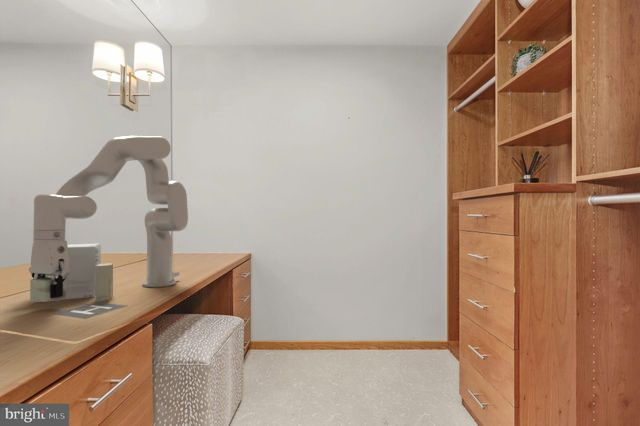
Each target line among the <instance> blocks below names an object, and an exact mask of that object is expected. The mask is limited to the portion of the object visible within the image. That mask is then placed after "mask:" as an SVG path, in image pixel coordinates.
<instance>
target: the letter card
mask: <svg viewBox="0 0 640 426" xmlns="http://www.w3.org/2000/svg"><path fill="white" fill-rule="evenodd" d="M125 307H127V304H117V303H107V302H101V301H98V302H96V301H95V302H93V303H88V304H85V305H80V306H77V307H73V308H69V309H65V310H62V311H58V312H54V313H52V315H55V316H64V317H72V318H76V319H77V318H78V319H84V320H87V319H89V318H92V317H95V316H99V315H104V314H105V313H109V312H113V311H115V310H118V309H122V308H123V309H124V308H125Z"/></svg>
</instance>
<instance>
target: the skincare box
mask: <svg viewBox="0 0 640 426" xmlns="http://www.w3.org/2000/svg"><path fill="white" fill-rule="evenodd" d="M113 298H114V263H110V262H109V263H101V264H98V265H97V266H96V296H95V302H109V301H111V300H112V299H113Z"/></svg>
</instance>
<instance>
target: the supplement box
mask: <svg viewBox="0 0 640 426" xmlns="http://www.w3.org/2000/svg"><path fill="white" fill-rule="evenodd" d="M67 245H68V252H69V271H70V273H69V275H68V276H67V277H66V297H65V298H60V299H56V300H51V301H47V302H46V303H48V302H58V301H61V300H71V299H72V300H73V299H74V300H75V299H83V298H84V299H85V298H86V299H87V298H96V266H97V265H98V264H102V262H101V261H102V256H101V255H102V254H101V247H102V246H101V243H99V242H98V243H78V244H77V243H75V244H74V243H71V244H67ZM56 273H57V272H56ZM41 276H42V275H41ZM58 276H59V275H58ZM58 276H56V277H58ZM46 277H50V275H47V276H46ZM32 303H33V304H37V303H42V302H41V301H33V300H32Z"/></svg>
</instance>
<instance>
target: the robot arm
mask: <svg viewBox="0 0 640 426" xmlns="http://www.w3.org/2000/svg"><path fill="white" fill-rule="evenodd" d="M171 150H172V149H171V144H170V142H169V141H168V140H167V138H165V137H163V136H159V135H158V136H153V135H152V136H148V135H147V136H142V135H141V136H140V135H139V136H137V135H135V136H134V135H129V136H118V137H113V138H110V139H109V140H108V141H107V142H106V143H105V144H104V146H103V147H102V148H101V149H100V151H99V152H98V153H97V155H95V157H94V159H93V160H92V161H91V162H90V163H89V164H88V166H87V167H85V168H84V169H82V170H81V171H79V172H78V173H77V174H75V175H74V176H73V177H71V178H70V179H69V180H67V181H66V182H65V183H64V184H62V186H61V187H60V188H59V189H58V190H57V192H56V193H55V194H46V193H45V194H38V195H35V197H34V199H33V230H32V231H33V234H32V235H33V236H32V249H31V256H30V267H29V269H28V271H29V273H30V274H31V277H32V279H38V278H44V277H46V276H47V275H50V276H51V280H52V285H51V291H50V298H57V297H61V296H63V283H64V282H65V279H66V277H67V276H68V275H69V273H70V271H69V252H68V245H69V244H68V242H67V240H66V224H67V223H66V219H70V220H71V219H72V220H85V219H89V218H91V217H92V216H94V215H95V214H96V212H97V209H98V205H97V203H96V201H95V200H94V199H93V198H91V197H90V196H86V195H88V194H89V193H91V192H93V191H95V190H97V189H100V188H102V187H105V186H107V185H109V184H111V183H112V182H113V181H114V180H116V178H117V176H118V175H119V173H120V172H121V170H122V169H123V168H124V166H125V165H126V163H127V162H128V161H138V162H139V164H140V165H141V167H142V168H143V169H144V175H145V186H146V187H145V189H146V197H147V200H148V202H149V203H150V204H153V205H162V206H163V205H164V206H165V205H166V206H167V207H154V208H151V209H149V210H148V211H147V212H146V213H145V216H144V226H145V231H146V248H147V249H146V280H145V281H143V282H142V287H145V288H162V287H169V286H173V285H175V284H177V280H176V279H175V277H179V276H180V272H179V271H173V238H172V235H171V233H170V232H181V231H183V230H184V229H186V227H187V225H188V221H189V211H188V197H187V195H188V194H187V190H186V189H185V186H184V185H183V184H182V183H181V182H180V181H176V180H170V178H169V171H168V167H167V165H166V163H165V161H164V160H163V159H165V158H168V156H169V155H170V153H171ZM56 272H57V273H56ZM41 275H42V276H41ZM58 275H59V276H58ZM56 276H58V277H57V279H56Z"/></svg>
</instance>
